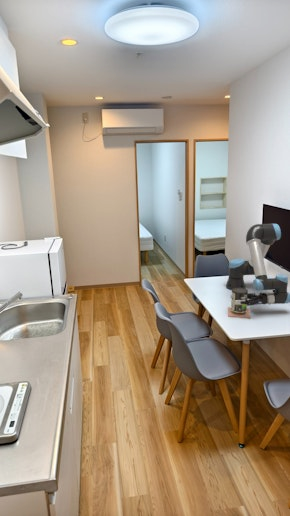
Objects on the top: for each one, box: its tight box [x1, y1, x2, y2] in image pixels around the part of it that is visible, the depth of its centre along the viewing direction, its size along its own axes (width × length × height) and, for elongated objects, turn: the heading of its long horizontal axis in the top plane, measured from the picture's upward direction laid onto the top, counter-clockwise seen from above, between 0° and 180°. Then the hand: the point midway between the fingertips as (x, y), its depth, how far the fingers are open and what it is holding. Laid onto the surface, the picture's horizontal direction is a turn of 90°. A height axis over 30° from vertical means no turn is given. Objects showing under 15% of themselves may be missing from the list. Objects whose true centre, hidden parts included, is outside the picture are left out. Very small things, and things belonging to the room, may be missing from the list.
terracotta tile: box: [227, 306, 251, 319], centre depth 231 cm, size 14×14×1 cm
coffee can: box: [230, 288, 249, 313], centre depth 229 cm, size 10×10×14 cm
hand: (233, 299), depth 229 cm, fingers closed on coffee can, 10 cm apart
